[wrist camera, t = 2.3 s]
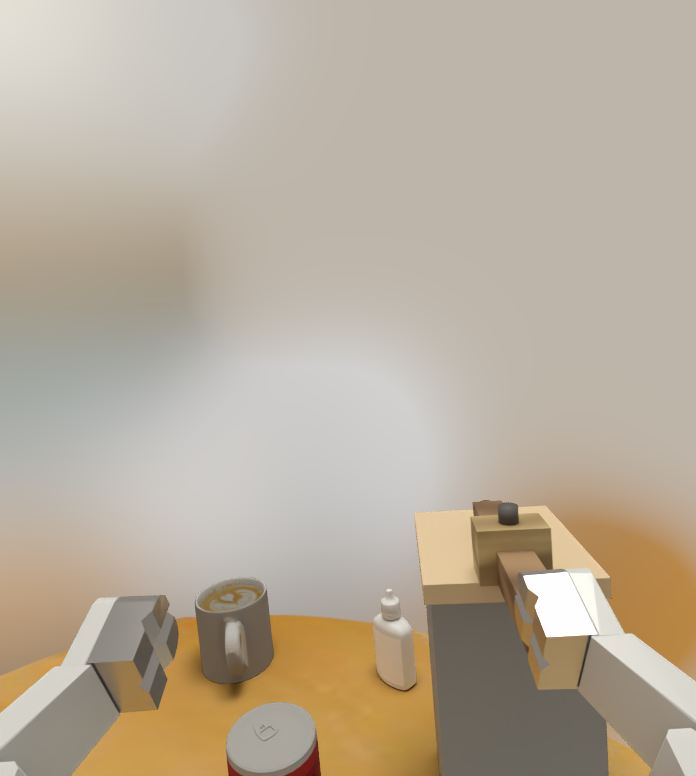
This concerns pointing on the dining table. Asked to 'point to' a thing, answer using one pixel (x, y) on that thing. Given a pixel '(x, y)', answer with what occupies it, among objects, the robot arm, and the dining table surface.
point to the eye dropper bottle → (394, 645)
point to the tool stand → (498, 665)
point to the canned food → (273, 742)
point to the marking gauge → (508, 547)
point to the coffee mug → (234, 629)
